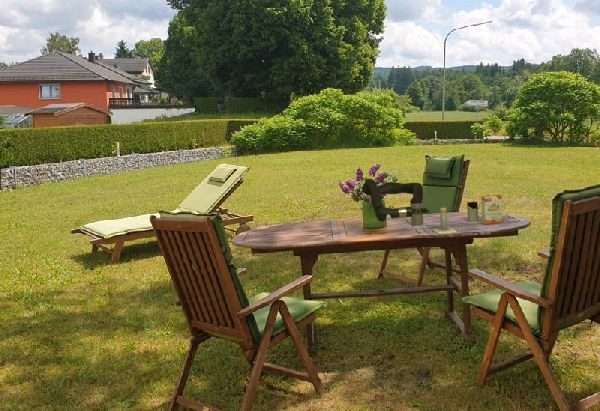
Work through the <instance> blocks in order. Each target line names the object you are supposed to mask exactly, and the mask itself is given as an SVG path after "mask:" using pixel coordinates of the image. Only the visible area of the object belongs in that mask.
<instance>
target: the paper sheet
mask: <svg viewBox="0 0 600 411" xmlns="http://www.w3.org/2000/svg"><path fill="white" fill-rule="evenodd" d="M447 229H448V230H441V227H440V228H433V229H432V231H433V232H435V233H437V234H438V233H440V234H453V233H457V230H456V229H454V228H452V227H447Z"/></svg>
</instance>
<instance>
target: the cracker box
mask: <svg viewBox="0 0 600 411" xmlns="http://www.w3.org/2000/svg"><path fill="white" fill-rule="evenodd" d="M480 198H481V199H480V203H481V204H480V206H481V213H482V214H481V223H482V225H491V224H492V225H493V224H503V202H502V201H503V196H502V195H501V194H500V195H499V194H495V195H493V194H492V195H481V196H480Z"/></svg>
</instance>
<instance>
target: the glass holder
mask: <svg viewBox="0 0 600 411" xmlns="http://www.w3.org/2000/svg"><path fill="white" fill-rule="evenodd" d="M466 205H467V210H466V212H467V221H466V222H467V223H479V222H480V220H479V218H480V216H482V212H481V213H480V214H479V209H480V207H479V206H481V202H480V203H479V204H478V202H477V201H469V202H467V204H466Z"/></svg>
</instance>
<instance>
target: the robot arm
mask: <svg viewBox="0 0 600 411" xmlns="http://www.w3.org/2000/svg"><path fill="white" fill-rule="evenodd" d="M361 192H362V194H364V195H367V196H370V202H371V205H372V207H373V209H374V214H375V216H376V219H377V221H379V222H385V221H386V220H387V217H388V216H390V219H399V218H400V219H404V218H410V222H411V226H424V214H426V213H428V214H429V211H430V210H429V209H427V208H426V207H423V199H424V186H423V185H422V183H419V182H407V183H402V182H401V183H400V182H397V181H388V182H385V183H382V184H381V185H378V184H377V183H376V181H375V180H374V179H373V178H367V179H365V181H364V183H363V185H362V187H361ZM397 194H409V195H412V198H410V201H409V203H410V205H409V206H402V207H394V208H393V207H392V208H391V207H384V204H383V202H382V200H381V197H380V195H397Z"/></svg>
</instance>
